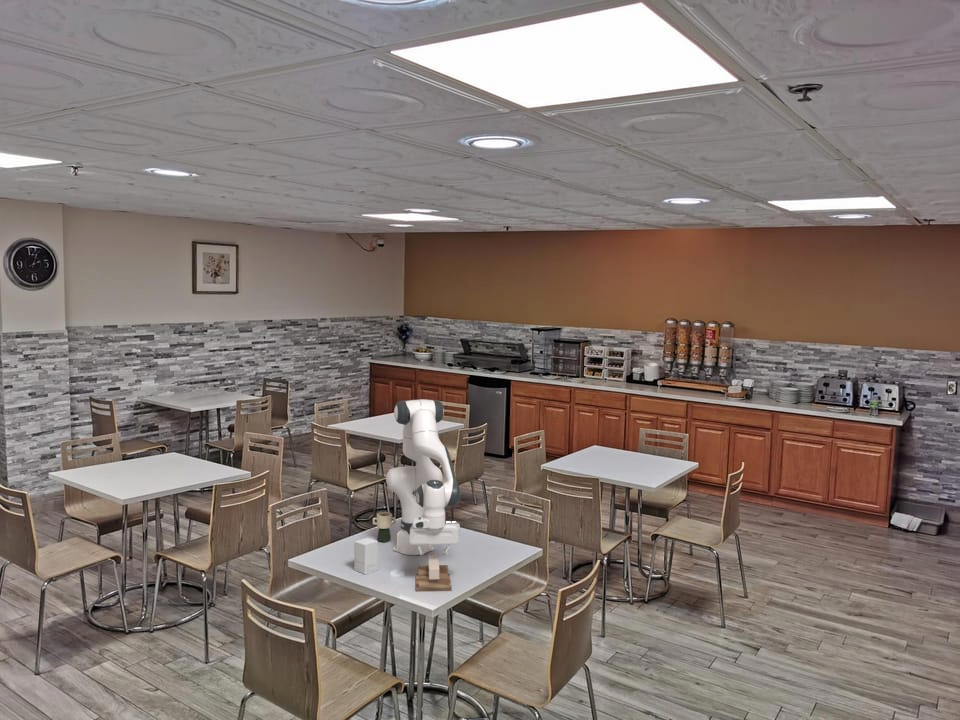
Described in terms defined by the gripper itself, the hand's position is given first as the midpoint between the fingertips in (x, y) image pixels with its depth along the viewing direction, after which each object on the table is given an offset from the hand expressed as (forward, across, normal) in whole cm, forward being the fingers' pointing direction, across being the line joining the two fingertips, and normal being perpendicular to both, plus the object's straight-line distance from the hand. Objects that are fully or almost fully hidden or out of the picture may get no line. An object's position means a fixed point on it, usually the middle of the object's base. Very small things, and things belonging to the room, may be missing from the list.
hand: (433, 554), depth 286 cm
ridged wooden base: (+12, 0, +1) cm, 12 cm away
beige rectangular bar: (+7, 0, +1) cm, 7 cm away
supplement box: (+13, +28, -15) cm, 34 cm away
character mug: (+14, +22, -53) cm, 59 cm away
